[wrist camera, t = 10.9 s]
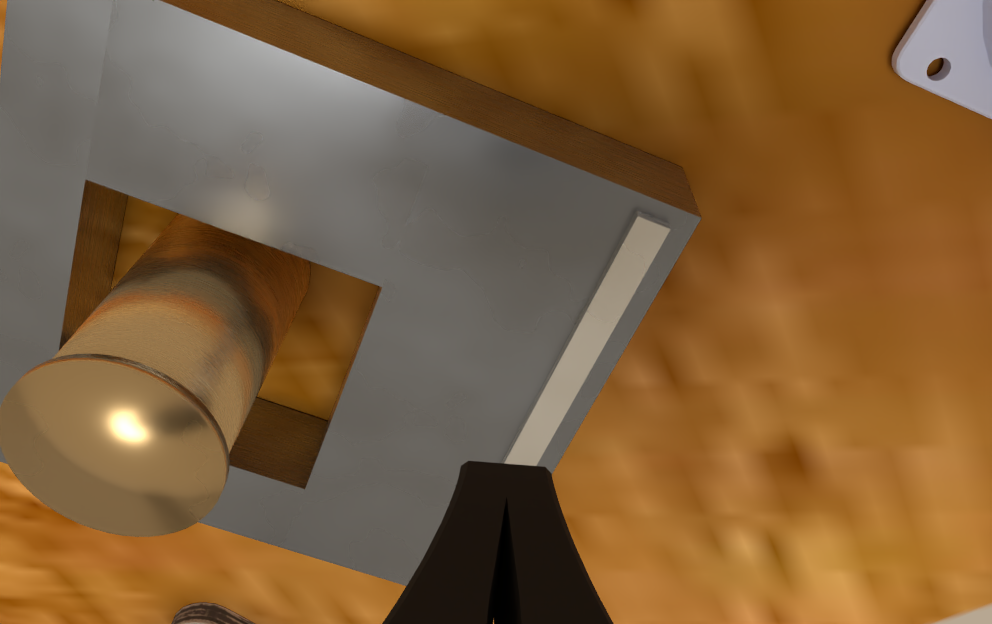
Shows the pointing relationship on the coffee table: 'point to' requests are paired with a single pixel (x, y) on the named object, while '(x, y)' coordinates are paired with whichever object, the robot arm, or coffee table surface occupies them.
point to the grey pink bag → (207, 615)
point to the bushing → (155, 383)
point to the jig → (336, 243)
